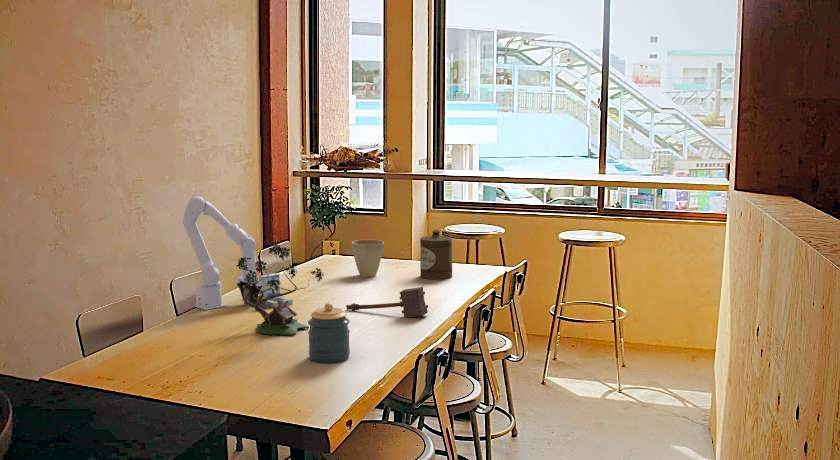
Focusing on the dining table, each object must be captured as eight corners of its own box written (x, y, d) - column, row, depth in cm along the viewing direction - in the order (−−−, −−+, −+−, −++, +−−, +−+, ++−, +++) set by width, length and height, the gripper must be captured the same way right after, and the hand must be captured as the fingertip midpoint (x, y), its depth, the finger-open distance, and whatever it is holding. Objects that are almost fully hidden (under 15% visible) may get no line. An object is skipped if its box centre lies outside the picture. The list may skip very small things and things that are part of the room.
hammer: (423, 316, 317) (418, 289, 316) (345, 325, 330) (340, 299, 329) (429, 312, 323) (424, 286, 323) (353, 321, 336) (348, 296, 335)
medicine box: (266, 297, 354) (265, 277, 353) (259, 296, 357) (258, 275, 355) (280, 294, 360) (279, 274, 359) (273, 292, 363) (272, 272, 362)
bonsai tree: (221, 337, 293) (218, 246, 289) (259, 320, 316) (256, 236, 311) (312, 347, 281) (310, 252, 276) (344, 329, 304) (343, 241, 299)
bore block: (273, 308, 335) (273, 303, 335) (260, 304, 342) (260, 299, 341) (292, 304, 341) (292, 299, 341) (279, 300, 348) (279, 296, 347)
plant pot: (347, 277, 394) (346, 243, 391) (358, 271, 408) (358, 238, 405) (377, 279, 389) (377, 245, 387) (388, 273, 403) (388, 240, 401)
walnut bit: (248, 306, 339) (248, 291, 338) (244, 304, 341) (243, 290, 340) (255, 304, 341) (255, 290, 340) (251, 303, 343) (250, 288, 343)
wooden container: (415, 275, 400) (415, 228, 397) (443, 272, 406) (443, 226, 403) (428, 280, 387) (428, 232, 384) (457, 278, 393) (458, 230, 390)
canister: (329, 349, 279) (328, 296, 276) (358, 356, 271) (357, 302, 268) (300, 358, 269) (298, 303, 266) (329, 366, 261) (328, 310, 258)
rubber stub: (261, 310, 332) (261, 300, 331) (256, 308, 334) (256, 298, 334) (269, 309, 334) (268, 299, 334) (264, 307, 337) (264, 297, 336)
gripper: (267, 269, 336) (268, 302, 338) (247, 264, 347) (248, 296, 349) (252, 271, 332) (253, 305, 334) (232, 266, 342) (233, 299, 344)
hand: (249, 301), depth 341 cm, fingers open, 6 cm apart
